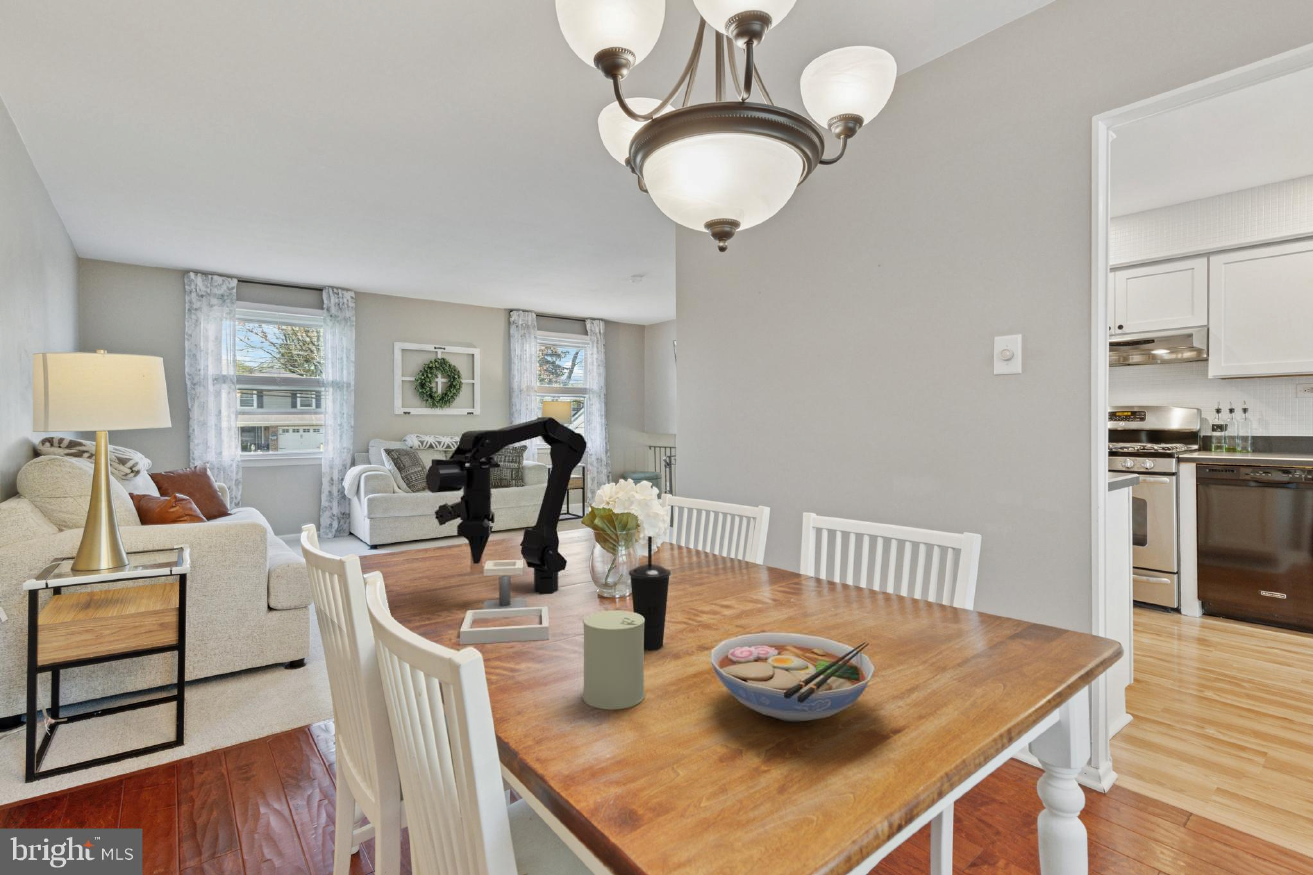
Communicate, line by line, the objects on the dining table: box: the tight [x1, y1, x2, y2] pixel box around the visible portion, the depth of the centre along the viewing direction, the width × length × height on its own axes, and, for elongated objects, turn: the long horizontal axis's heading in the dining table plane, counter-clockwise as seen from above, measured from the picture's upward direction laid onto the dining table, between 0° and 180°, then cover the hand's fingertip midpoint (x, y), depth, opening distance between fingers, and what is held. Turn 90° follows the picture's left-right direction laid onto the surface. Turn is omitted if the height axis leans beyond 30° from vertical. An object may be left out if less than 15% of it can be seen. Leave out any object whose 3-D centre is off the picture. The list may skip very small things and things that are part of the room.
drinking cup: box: [628, 535, 672, 651], centre depth 115 cm, size 8×8×20 cm
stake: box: [481, 575, 527, 610], centre depth 136 cm, size 9×9×7 cm
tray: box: [459, 606, 550, 646], centre depth 123 cm, size 13×16×2 cm
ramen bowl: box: [710, 632, 876, 722], centre depth 89 cm, size 25×23×8 cm
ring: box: [469, 553, 525, 577], centre depth 136 cm, size 8×11×5 cm
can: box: [582, 609, 646, 711], centre depth 94 cm, size 9×9×12 cm
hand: (477, 562), depth 135 cm, fingers closed on ring, 2 cm apart
